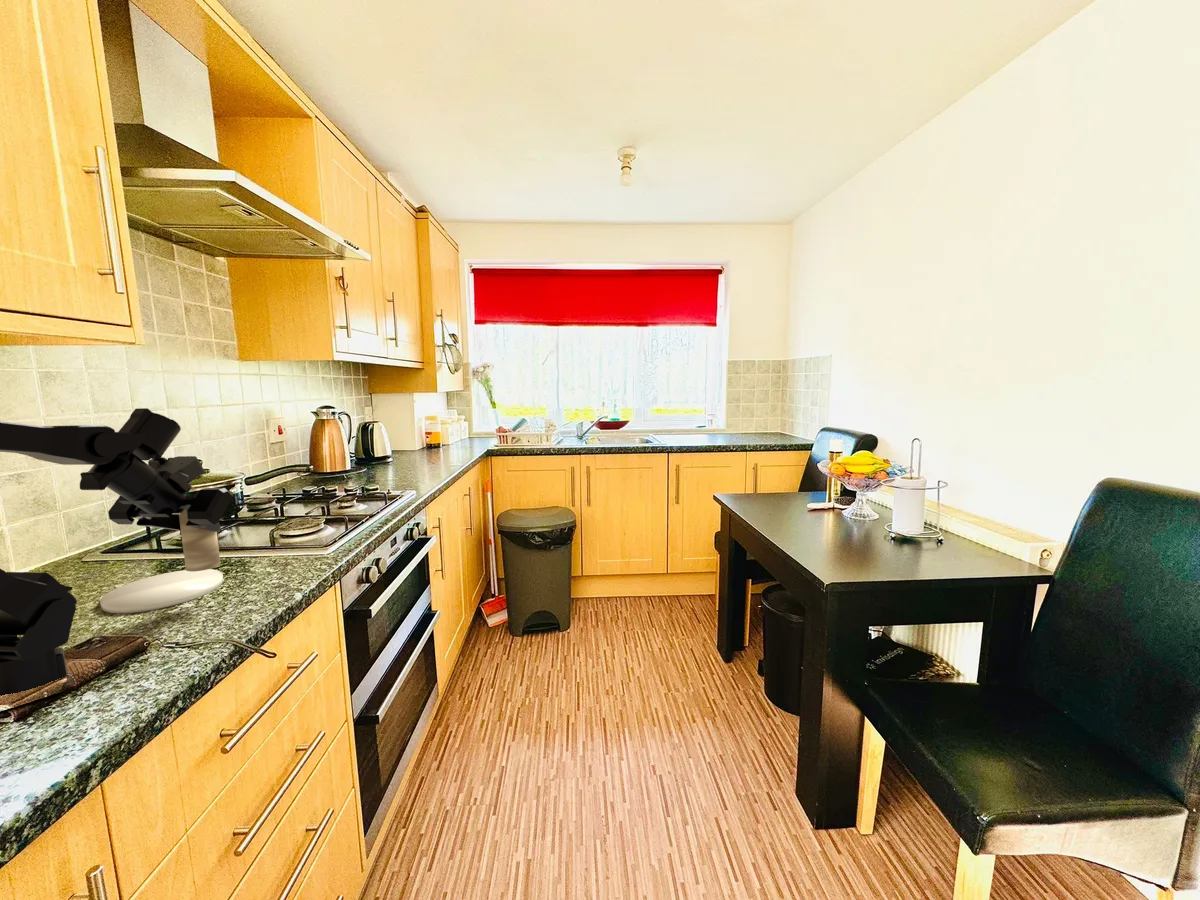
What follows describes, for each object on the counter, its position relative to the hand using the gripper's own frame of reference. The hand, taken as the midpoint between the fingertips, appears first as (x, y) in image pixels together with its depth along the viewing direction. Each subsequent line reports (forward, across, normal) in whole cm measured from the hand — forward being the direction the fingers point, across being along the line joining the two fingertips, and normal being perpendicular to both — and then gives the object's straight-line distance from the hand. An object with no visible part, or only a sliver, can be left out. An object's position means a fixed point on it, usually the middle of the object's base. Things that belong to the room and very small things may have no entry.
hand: (205, 529), depth 92 cm
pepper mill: (+4, 0, +6) cm, 7 cm away
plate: (+11, +12, +8) cm, 18 cm away
